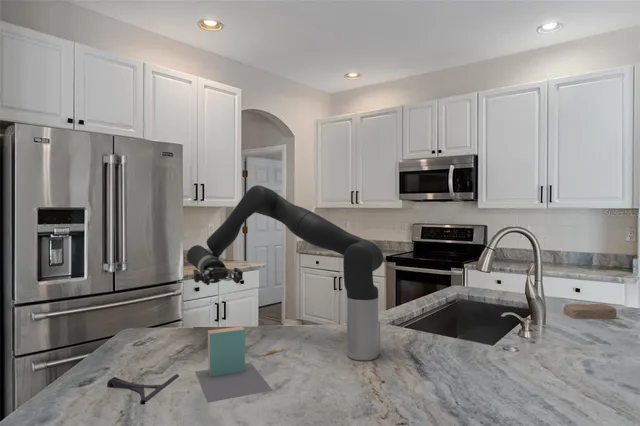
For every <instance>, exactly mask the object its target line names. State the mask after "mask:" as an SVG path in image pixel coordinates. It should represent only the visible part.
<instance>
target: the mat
mask: <svg viewBox="0 0 640 426" xmlns="http://www.w3.org/2000/svg"><path fill="white" fill-rule="evenodd" d="M195 375H196V377H197V380H198V383H199V385H200V387H201V390H202V392H203V394H204V398H205V399H206V402H207V403H212V402H214V403H215V402H218V401H223V400H229V399H234V398H239V397H244V396H249V395H254V394H255V395H256V394H260V393H261V394H262V393H266V392H271V391H273V389H272V388H271V386H270V385H269V384H268V382H267V381H266V379H264V377H263V376H262V375H261V373H259V371H258V369H256V367H255V365H254V364H253V363H252V362H249V363H245V371H243V372H237V373H231V374H224V375H218V376H212V377H210V376H209V374H208V369H205V370H204V369H203V370H198V371H196V370H195Z"/></svg>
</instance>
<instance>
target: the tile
mask: <svg viewBox="0 0 640 426" xmlns="http://www.w3.org/2000/svg"><path fill="white" fill-rule="evenodd" d="M245 364H246V329H245V328H244V326H236V327H228V328H226V327H225V328H219V329H211V330H209V329H208V330H207V370H208V374H209V376H210V377H212V376H218V375H224V374H231V373H237V372H243V371H245Z"/></svg>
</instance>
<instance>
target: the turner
mask: <svg viewBox="0 0 640 426" xmlns="http://www.w3.org/2000/svg"><path fill="white" fill-rule="evenodd" d="M283 351H284V348H282V347H279V348H275V349H273V350H269V351H265V352H262V353H261V356H263V357H267V356H270V355H274V354H277V353H279V352H283Z"/></svg>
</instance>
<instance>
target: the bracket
mask: <svg viewBox="0 0 640 426" xmlns="http://www.w3.org/2000/svg"><path fill="white" fill-rule="evenodd" d="M179 377H180V375H179V374H177V373H175V374H174V375H173V376H171V377H170V378H169V379H168V380H166V381H165V382H164V383H162V384H139V383H134V382H130V381H126V380H124V379H121V378H118V377H116V376H114V377H112V378H110V379H108V381H107V383H106V386H107V388H114V389H125V390H126V389H128V390H132V391H134V392H137V394H139V395H140V401H139V404H140V405H142V404H144V403H147V402H149V401H150V400H151V399H153V398H154V397H155V396H157V394H158V393H160V392H161V391H162V390H163V389H165V388H166V387H168V385H170V384H172V383H173V382H174V381H175V380H177V379H178V378H179ZM145 389H153V391H151V392H150V393H149V394H148V395H145ZM154 389H155V390H154Z"/></svg>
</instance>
